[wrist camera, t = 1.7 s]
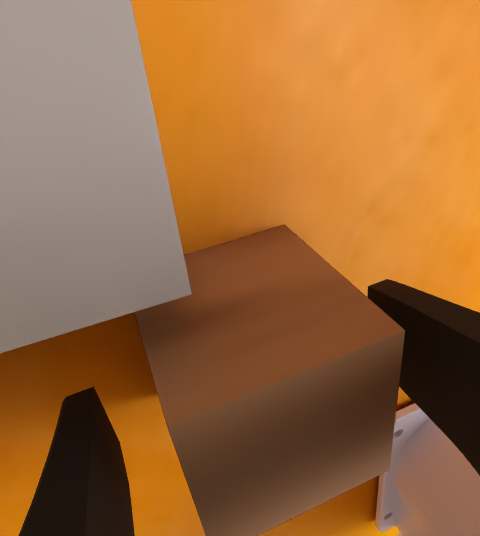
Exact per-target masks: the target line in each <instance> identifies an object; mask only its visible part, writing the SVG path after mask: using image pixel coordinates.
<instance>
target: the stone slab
mask: <svg viewBox="0 0 480 536" xmlns="http://www.w3.org/2000/svg"><path fill="white" fill-rule="evenodd" d="M191 294H192V292H191V288H190V283H189V278H188V273H187V268H186V264H185V259H184V254H183V249H182V244H181V239H180V235H179V230H178V225H177V220H176V215H175V211H174V206H173V201H172V196H171V191H170V186H169V182H168V177H167V172H166V167H165V162H164V158H163V153H162V148H161V143H160V138H159V134H158V129H157V124H156V119H155V114H154V109H153V105H152V100H151V95H150V90H149V85H148V81H147V76H146V71H145V66H144V61H143V56H142V52H141V47H140V42H139V37H138V32H137V28H136V23H135V18H134V13H133V8H132V4H131V0H0V353H3V352H6V351H10V350H13V349H16V348H19V347H23V346H26V345H29V344H32V343H36V342H39V341H42V340H45V339H49V338H52V337H55V336H58V335H62V334H65V333H68V332H71V331H74V330H78V329H81V328H84V327H87V326H91V325H94V324H97V323H100V322H104V321H107V320H110V319H113V318H117V317H120V316H123V315H126V314H130V313H133V312H136V311H139V310H142V309H146V308H149V307H152V306H155V305H159V304H162V303H165V302H168V301H172V300H175V299H178V298H181V297H185V296H188V295H191Z"/></svg>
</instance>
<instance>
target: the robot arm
mask: <svg viewBox="0 0 480 536" xmlns="http://www.w3.org/2000/svg"><path fill="white" fill-rule="evenodd" d="M368 298H369V299H370V300H371V301H372V302H373V303H374V304H375V305H377V306H378V307H379V308H380V309H381V310H382V311H383V312H385V313H386V314H387V315H388V316H389V317H390V318H391V319H393V320H394V321H395V322H396V323H397V324H398V325H399V326H401V327H402V328H403V329H404V330H405V336H404V345H403V354H402V363H401V372H400V381H399V387H400V388H401V389H402V390H403V391H404V392H405V393H406V394H407V395H408V396H409V397H410V398H411V399H412V400H413V402H414V404H412V405H410V406H407V407H405V408H403V409H401V410H398V411H396V416H395V425H394V434H393V443H392V452H391V461H390V470H389V471H387V472H385V473H383V474H381V475H380V476H379V487H378V498H377V509H376V520H375V525H376V527H377V528H378V530H379V531H385V530H388V529H389V528H391V527H393V526H395V525H396V526H397V528H398V529H399V531H400V532H401V534H402V535H403V536H480V313H479V312H476V311H473V310H471V309H468V308H465V307H462V306H460V305H457V304H454V303H452V302H449V301H446V300H444V299H441V298H438V297H436V296H433V295H430V294H428V293H425V292H423V291H420V290H417V289H415V288H412V287H409V286H406V285H404V284H401V283H398V282H395V281H392V280H389V279H387V280H384V281H381V282H378V283H376V284H373V285H370V286H368ZM19 536H135V535H134V526H133V516H132V507H131V498H130V489H129V482H128V478H127V473H126V468H125V464H124V459H123V455H122V450H121V446H120V442H119V440H118V438H117V436H116V433H115V431H114V429H113V427H112V425H111V423H110V421H109V419H108V416H107V414H106V412H105V410H104V408H103V406H102V404H101V401H100V399H99V397H98V395H97V393H96V391H95V389H94V387H92V388H89V389H86V390H83V391H81V392H78V393H75V394H73V395H70V396H67V397H66V398H65V399H64V401H63V402H62V406H61V410H60V415H59V418H58V422H57V426H56V430H55V433H54V437H53V440H52V443H51V447H50V450H49V453H48V457H47V460H46V463H45V466H44V468H43V471H42V474H41V477H40V480H39V483H38V486H37V489H36V492H35V495H34V498H33V500H32V503H31V506H30V508H29V511H28V513H27V516H26V518H25V521H24V523H23V526H22V529H21V531H20V534H19Z"/></svg>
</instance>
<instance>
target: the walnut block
mask: <svg viewBox="0 0 480 536" xmlns="http://www.w3.org/2000/svg"><path fill="white" fill-rule="evenodd" d="M184 259H185V264H186V268H187V273H188V278H189V283H190V288H191V292H192V294H191V295H188V296H185V297H181V298H178V299H175V300H172V301H168V302H165V303H162V304H159V305H155V306H152V307H149V308H146V309H142V310H139V311H136V312H134V313H135V316H136V320H137V323H138V327H139V330H140V334H141V337H142V341H143V344H144V348H145V351H146V355H147V358H148V362H149V365H150V369H151V372H152V375H153V379H154V382H155V386H156V389H157V393H158V396H159V400H160V403H161V407H162V410H163V414H164V417H165V421H166V424H167V427H168V430H169V433H170V436H171V439H172V441H173V444H174V447H175V450H176V453H177V455H178V458H179V461H180V464H181V467H182V470H183V472H184V475H185V478H186V481H187V484H188V486H189V489H190V492H191V495H192V498H193V500H194V503H195V506H196V509H197V512H198V515H199V517H200V520H201V523H202V526H203V529H204V531H205V534H206V536H258V535H260V534H262V533H264V532H266V531H268V530H270V529H272V528H274V527H276V526H278V525H280V524H282V523H284V522H286V521H288V520H290V519H292V518H294V517H296V516H298V515H300V514H302V513H304V512H306V511H308V510H310V509H312V508H314V507H316V506H318V505H320V504H322V503H325V502H327V501H329V500H331V499H333V498H335V497H337V496H339V495H341V494H343V493H345V492H347V491H349V490H351V489H353V488H355V487H357V486H359V485H361V484H363V483H365V482H367V481H369V480H371V479H373V478H375V477H377V476H379V475H381V474H383V473H385V472H387V471H389V470H390V461H391V452H392V443H393V434H394V425H395V416H396V407H397V399H398V390H399V381H400V372H401V363H402V354H403V345H404V336H405V330H404V329H403V328H402V327H401V326H399V325H398V324H397V323H396V322H395V321H394V320H393V319H391V318H390V317H389V316H388V315H387V314H386V313H385V312H383V311H382V310H381V309H380V308H379V307H378V306H377V305H375V304H374V303H373V302H372V301H371V300H370V299H369V298H368V297H366V296H365V295H364V294H363V293H362V292H361V291H360V290H358V289H357V288H356V287H355V286H354V285H353V284H352V283H350V282H349V281H348V280H347V279H346V278H345V277H344V276H342V275H341V274H340V273H339V272H338V271H337V270H336V269H335V268H333V267H332V266H331V265H330V264H329V263H328V262H327V261H325V260H324V259H323V258H322V257H321V256H320V255H319V254H317V253H316V252H315V251H314V250H313V249H312V248H311V247H309V246H308V245H307V244H306V243H305V242H304V241H303V240H302V239H300V238H299V237H298V236H297V235H296V234H295V233H294V232H292V231H291V230H290V229H289V228H288V227H287V226H286V225H282V226H278V227H275V228H272V229H269V230H265V231H262V232H259V233H255V234H252V235H249V236H246V237H242V238H239V239H236V240H233V241H229V242H226V243H223V244H220V245H216V246H213V247H210V248H206V249H203V250H200V251H197V252H193V253H190V254H187V255H184Z"/></svg>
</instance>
